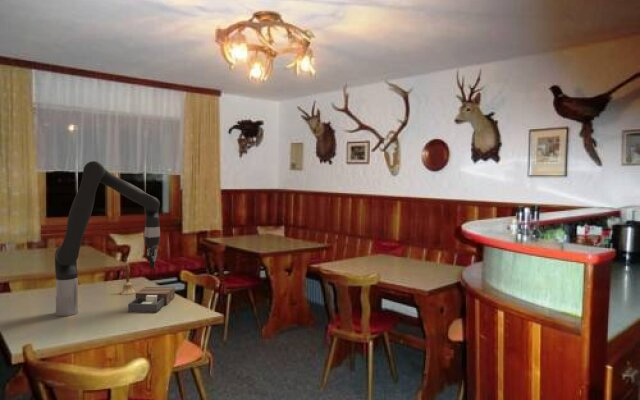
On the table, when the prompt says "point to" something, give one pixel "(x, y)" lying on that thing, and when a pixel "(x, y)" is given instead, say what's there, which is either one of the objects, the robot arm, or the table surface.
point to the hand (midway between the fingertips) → (152, 268)
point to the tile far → (151, 298)
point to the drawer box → (158, 293)
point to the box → (145, 305)
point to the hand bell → (127, 284)
